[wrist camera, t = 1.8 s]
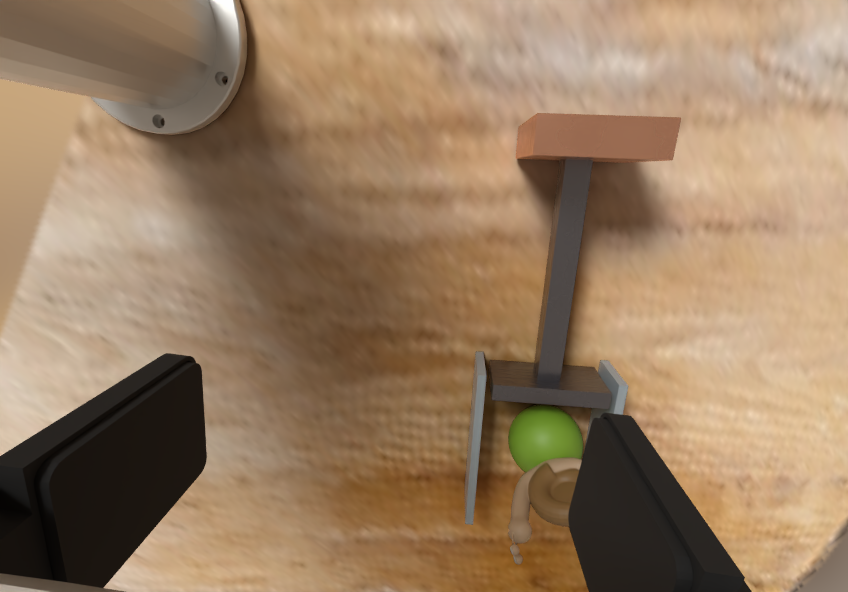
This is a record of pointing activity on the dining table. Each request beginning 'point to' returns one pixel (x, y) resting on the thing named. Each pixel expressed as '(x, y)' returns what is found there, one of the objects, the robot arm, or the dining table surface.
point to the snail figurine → (543, 468)
